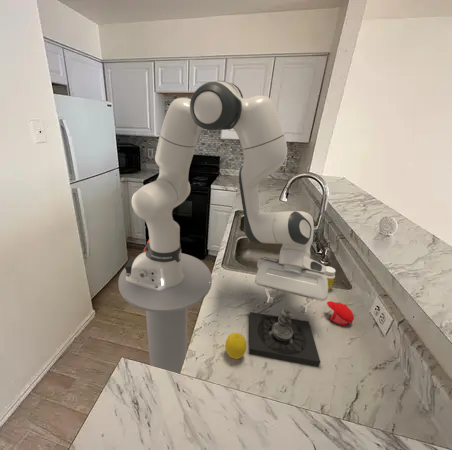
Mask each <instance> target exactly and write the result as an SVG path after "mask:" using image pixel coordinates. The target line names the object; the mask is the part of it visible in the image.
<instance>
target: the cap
mask: <svg viewBox="0 0 452 450" xmlns="http://www.w3.org/2000/svg"><path fill="white" fill-rule="evenodd" d="M326 305H327V306H328V308H330V310H332V311H333V313H332V314H331V317H330V318H329V320H330V321H331V322H334V323H335V324H337V325H340V326H347V325H348V324H352V323H353V322H354V319H355V315H354V313H353V311H352V310H351V308H350V307H348V304H346V303H341V302H335V301H332V300H331V301H327V302H326Z"/></svg>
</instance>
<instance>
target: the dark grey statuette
mask: <svg viewBox="0 0 452 450" xmlns="http://www.w3.org/2000/svg"><path fill="white" fill-rule="evenodd" d="M292 316H293V312H292V311H291V310H290V309H289V308H288V307H286V308H283V309H282V310H281V312H280V315H279V318H278V321H279V322H278V323H275V324H273V325H272V330H271V331H272V333H271V334H270V337H271V338H272V339H273V340H274V341H275V342H277V343H279V344H282V345H289V344H291V340H290V339H292V336H293V331H292V329H291V328H290V327H289V325H291V319H292Z"/></svg>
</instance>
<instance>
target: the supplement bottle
mask: <svg viewBox="0 0 452 450" xmlns="http://www.w3.org/2000/svg"><path fill="white" fill-rule="evenodd" d="M324 266H325V267H326V272H325V273H324V275H325V276H326V277H327V280H328V292H330V291H332V287H333V285H334V282H335V278H336V275H335V274H336V272H337V271H336V269H335V267H332V266H327V265H324Z"/></svg>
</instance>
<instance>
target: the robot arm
mask: <svg viewBox="0 0 452 450" xmlns="http://www.w3.org/2000/svg"><path fill="white" fill-rule="evenodd" d="M164 116H165V117H164V119H163V122H162V126H161V129H160V133H159V136H158V142H157V145H156V150H155V155H154V161H155V163H156V165H157V167H158V170H159V172H158V176H157V178H156V180H153V181H151V182H149V183H146V184H144V185H142V186H141V187H140V188H139V189H137V191H135V192H134V193H133V195H132V197H131V208H132V211H133V212H134V214H135V215H136V216H137V217H138V218H140V219H142V220H144V222H145V224H146V226H147V230H148V237H149V238H148V240H147V241H146V244H145V246H144V248H143V252H142V253H139V255H137V256H136V257H135V258H134V259H131V258H130V259H128V261H127V263H126V264H125V267H124V268H125V270H126V273H127V274H126V282H127V283H130V284H134V285H137V286H140V287H143V288H147V289H150V290H153V291H156V292H162V291H164V290H165V289H167V288H171V287H174V286H176V285H178V284H180V283H181V282H182V281H183V279H184V273H183V271H182V267H181V260H180V259H181V253H182V245H181V233H180V232H181V226H180V224H179V223H178V222H177V221H175V220H174V217H173V210H174V209H175V208H177V207H179V206H180V205H182V203H183V204H184V202H185V201H186V200H187V198H188V197H189V196H190V193H191V190H192V189H191V184H190V181H189V173H190V167H191V164H192V160H193V157H194V153H195V150H196V147H197V144H198V141H199V137H200V135H201V133H202V130H207V131H228V130H234V131H235V133H236V135H237V137H238V140H239V143H240V147H241V151H242V154H243V163H242V166H241V167H240V168H239V170H238V184H239V192H240V198H241V199H240V200H241V206H242V212H243V231H244V234H245V237H246V238H247V239H248V240H249V242H251V244H253V245H265V244H271V245H272V244H273V245H274V244H275V245H281V248H280V249H279V256H278V258H272V257H271V258H270V257H268V256H263V257H260V258H258V260H257V264H256V267H257V271H256V274H255V279H254V282H255V284H256V286H259V287H263V288H265V294H266V298H267V300H266V304H269V305H273V301H274V298H273V297H271V294H270V292H271V290H275V291H279V292H282V293H283V292H284V293H288V294H291V295H295V296H299V297H303V298H306V300H305V301H306V304H305V305H301V306H300V311H299V312H300V313H302V314H307V313H308V308H309V307H310V306H311V304H313V302H314V300H315V301H320V302H324V301H326V300H327V299H328V296H329V291H328V280H327V277H326V276H325V275H324V273H325V272H326V267H325V266H326V265H324V264H322V263H320V262H318V261H316V260H314V259H312V258H311V247H312V245H313V241H314V231H315V227H314V225H315V224H314V218H313V216H312V215H311V213H308V212H306V211H302V210H287V211H286V210H285V211H273V212H271V211H270V212H264V211H263V210H262V209H261V203H260V195H259V194H260V193H259V184H260V183H261V182H262V181H263V180H264V179H266V178H268V177H269V176H272V174H274V173H275V172H276V171H278V170H279V169H280V168H281V167H282V166H283V164H284V163H285V161H286V159H287V157H288V145H287V139H286V136H285V135H286V134H285V131H284V127H283V124H282V121H281V118H280V116H279V113H278V111H277V109H276V106H275V104H274V102H273V100H272V99H271V98H270V97H269V96H268V95H267V96H266V95H261V94H260V95H253V96H251V97H248V98H247V97H246V98H244V95H243V93H242V91H241V89H240V87H238V86H237V85H236V84H234V83H232V82H229V81H225V80H215V81H208V82H205V83H203V84H202V85H200V86H199V87H198V88H197V89H195V91H194V93H192V96H191V98H189V97H177V98H176V99H173V101H172V102H170V104H169V107H168V109H167V111H166V114H165V115H164Z"/></svg>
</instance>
